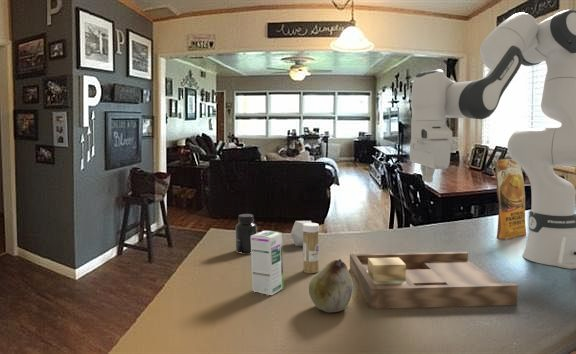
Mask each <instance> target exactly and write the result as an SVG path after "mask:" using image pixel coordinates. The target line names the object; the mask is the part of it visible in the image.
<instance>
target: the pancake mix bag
mask: <svg viewBox="0 0 576 354" xmlns="http://www.w3.org/2000/svg"><path fill="white" fill-rule="evenodd" d="M522 169H523V168H522V167H521V166H520V165H519V164H518V163H516V162H515V161H514V160H513V159H512V158H501V159H497V160H496V162H495V167H494V172H495V180H496V195H497V200H498V215H497V216H498V218H497V229H496V238H497V239H499V240H500V239H501V240H510V239H514V238H515V239H516V238H519V237H523V236H526V235H527V227H526V192H525V191H526V190H525V180H524V174H523V170H522Z"/></svg>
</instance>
